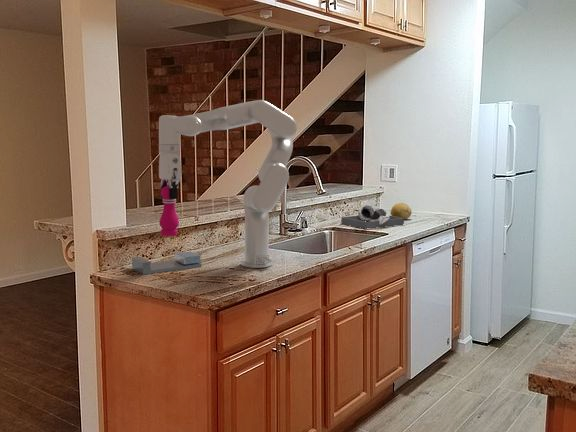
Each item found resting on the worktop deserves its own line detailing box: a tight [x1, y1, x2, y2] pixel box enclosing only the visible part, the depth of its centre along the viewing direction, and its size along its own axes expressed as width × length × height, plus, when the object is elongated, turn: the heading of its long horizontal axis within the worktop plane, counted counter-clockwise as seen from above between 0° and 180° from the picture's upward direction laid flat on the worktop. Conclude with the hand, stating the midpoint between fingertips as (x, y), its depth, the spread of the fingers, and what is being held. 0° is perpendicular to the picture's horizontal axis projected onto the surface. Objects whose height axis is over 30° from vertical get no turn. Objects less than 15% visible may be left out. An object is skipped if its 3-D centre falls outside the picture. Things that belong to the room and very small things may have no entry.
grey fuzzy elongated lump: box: [357, 205, 391, 225], centre depth 337 cm, size 25×10×10 cm, turn 26°
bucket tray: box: [340, 215, 405, 230], centre depth 339 cm, size 21×29×4 cm
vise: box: [131, 256, 203, 276], centre depth 229 cm, size 11×24×4 cm, turn 126°
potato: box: [390, 202, 412, 220], centre depth 360 cm, size 10×12×10 cm
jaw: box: [173, 250, 201, 264], centre depth 234 cm, size 9×7×3 cm
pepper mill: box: [158, 182, 180, 237], centre depth 221 cm, size 7×7×20 cm
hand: (169, 197), depth 221 cm, fingers closed on pepper mill, 6 cm apart
